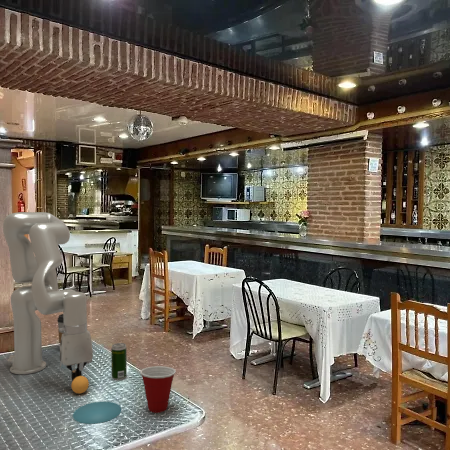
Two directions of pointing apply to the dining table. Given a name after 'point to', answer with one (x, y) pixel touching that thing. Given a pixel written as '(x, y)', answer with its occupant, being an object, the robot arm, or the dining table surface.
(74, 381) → the ball
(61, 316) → the coffee cup
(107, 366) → the dining table surface
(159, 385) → the plastic cup
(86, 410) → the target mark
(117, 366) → the green soda can
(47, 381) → the dining table surface
